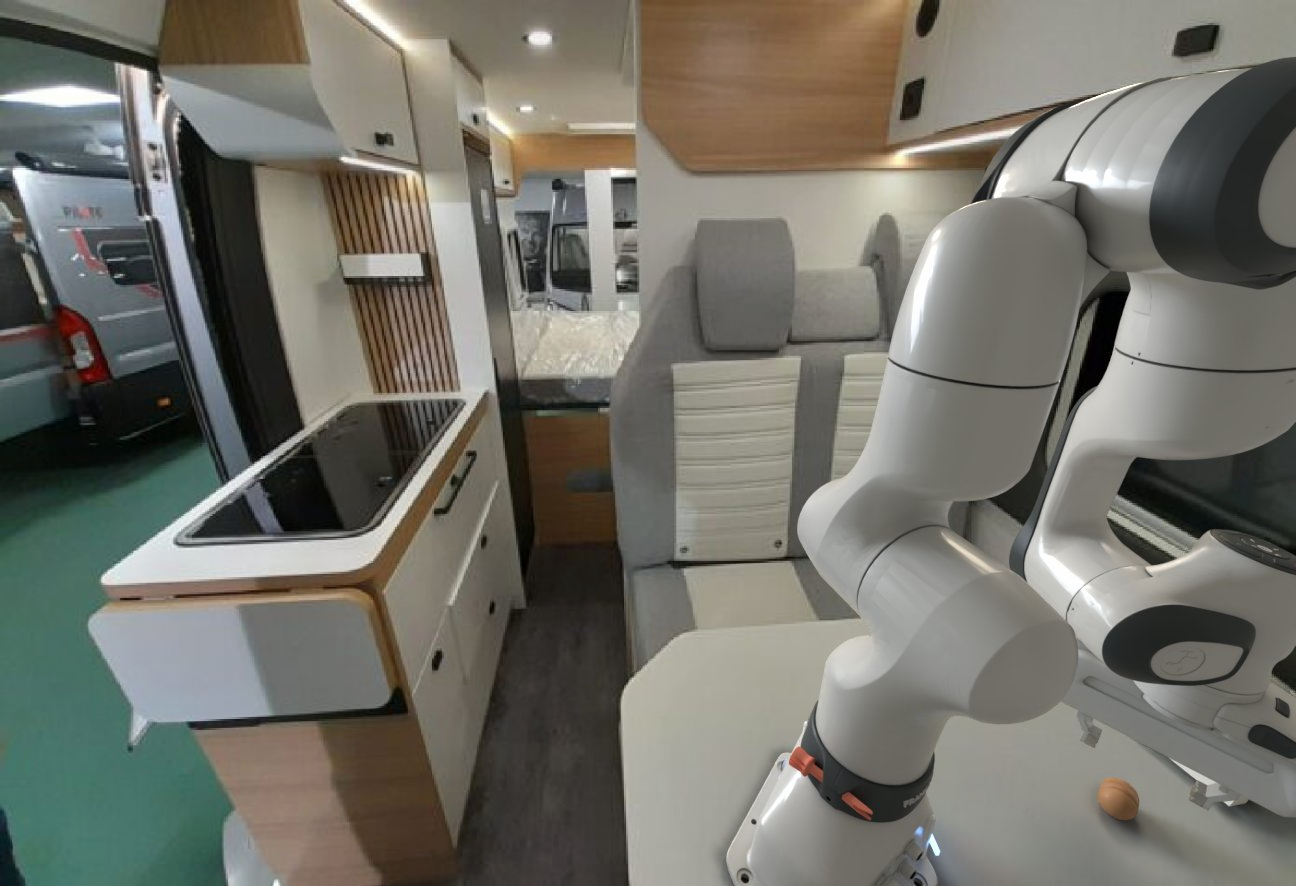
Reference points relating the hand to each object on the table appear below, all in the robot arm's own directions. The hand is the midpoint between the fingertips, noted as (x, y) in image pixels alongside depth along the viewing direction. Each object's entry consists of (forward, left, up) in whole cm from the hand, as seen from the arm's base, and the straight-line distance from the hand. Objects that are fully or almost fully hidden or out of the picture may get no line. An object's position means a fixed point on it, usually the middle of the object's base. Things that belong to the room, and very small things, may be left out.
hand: (1140, 769), depth 59 cm
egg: (-1, 0, -7) cm, 7 cm away
